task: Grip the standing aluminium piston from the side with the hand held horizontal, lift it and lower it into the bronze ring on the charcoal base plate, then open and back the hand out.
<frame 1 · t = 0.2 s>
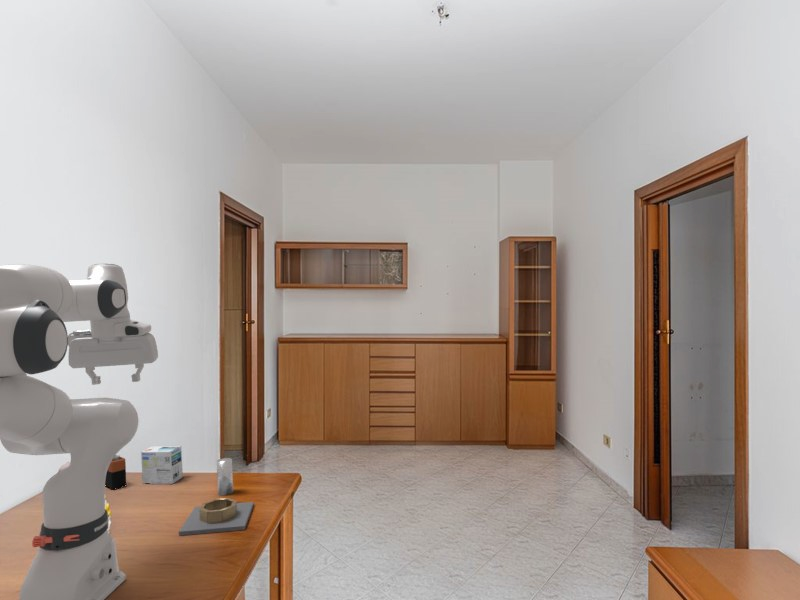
hand: (116, 382, 134), 39 cm above the table, tool pointing down, fingers open, 8 cm apart
battery: (115, 487, 171), on the table
piston: (225, 492, 162), on the table
light bulb box: (162, 481, 175), on the table
bronze ring: (218, 510, 142), on the base plate, point 2 cm above the table
cupcake: (69, 494, 165), on the table
base plate: (218, 519, 142), on the table
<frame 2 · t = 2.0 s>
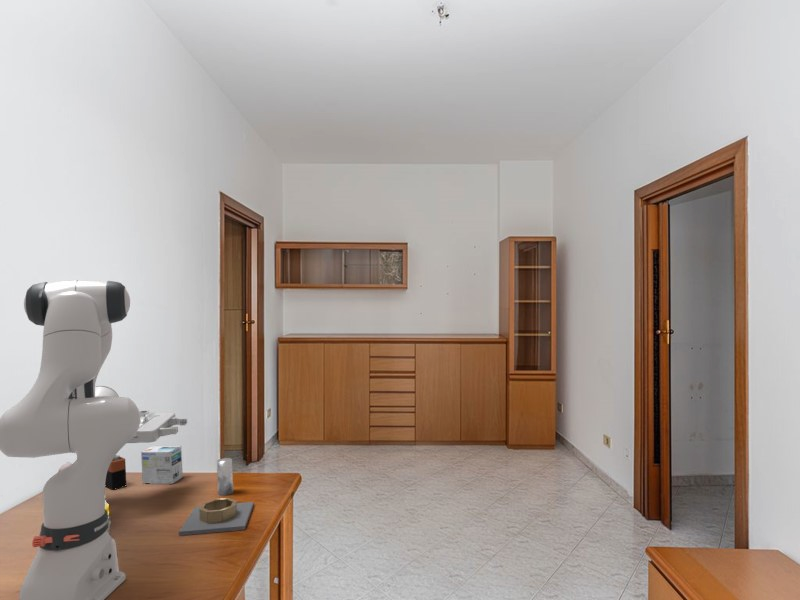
hand: (182, 426, 160), 21 cm above the table, tool horizontal, fingers open, 8 cm apart
nothing on the table moved.
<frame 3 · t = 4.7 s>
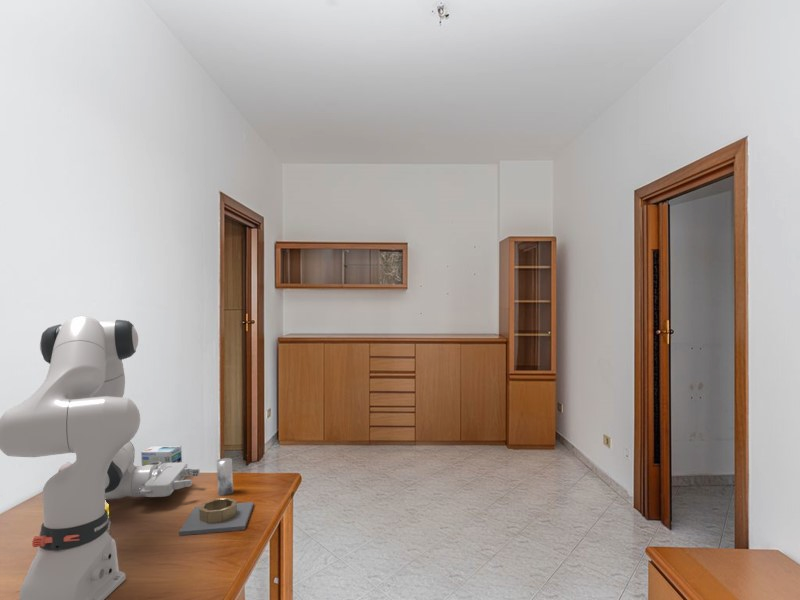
hand: (195, 477, 161), 5 cm above the table, tool horizontal, fingers open, 8 cm apart
nothing on the table moved.
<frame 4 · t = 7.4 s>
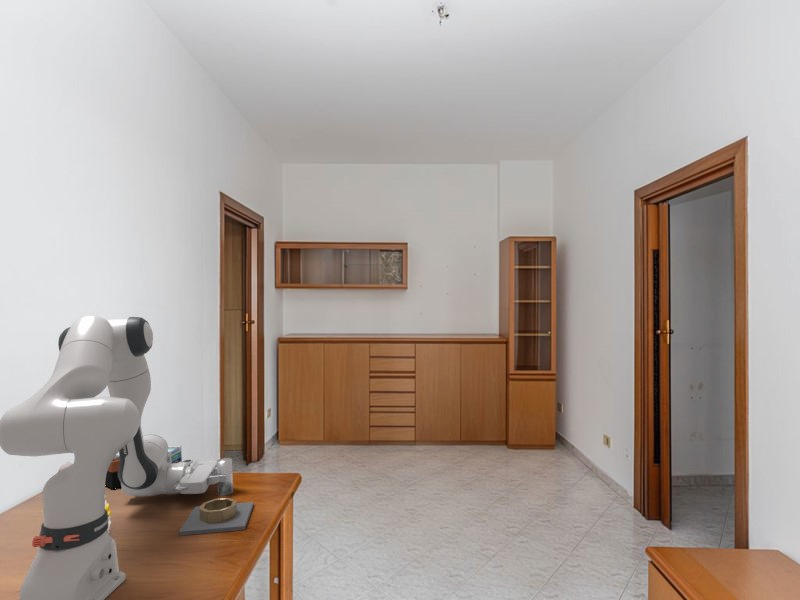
hand: (227, 474, 162), 6 cm above the table, tool horizontal, fingers closed on piston, 4 cm apart
piston: (225, 492, 162), on the table, touching gripper
everything else where it was.
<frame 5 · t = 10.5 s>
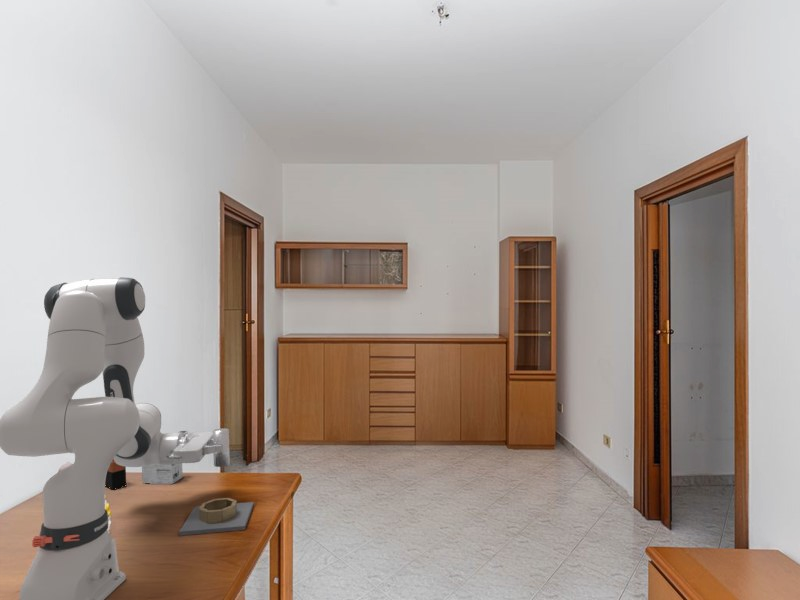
hand: (224, 445, 155), 16 cm above the table, tool horizontal, fingers closed on piston, 4 cm apart
piston: (221, 464, 155), point 11 cm above the table, touching gripper
everything else where it was.
when the fingers open (8 cm above the table, at t = 14.0 s): piston drops 1 cm, resting on base plate.
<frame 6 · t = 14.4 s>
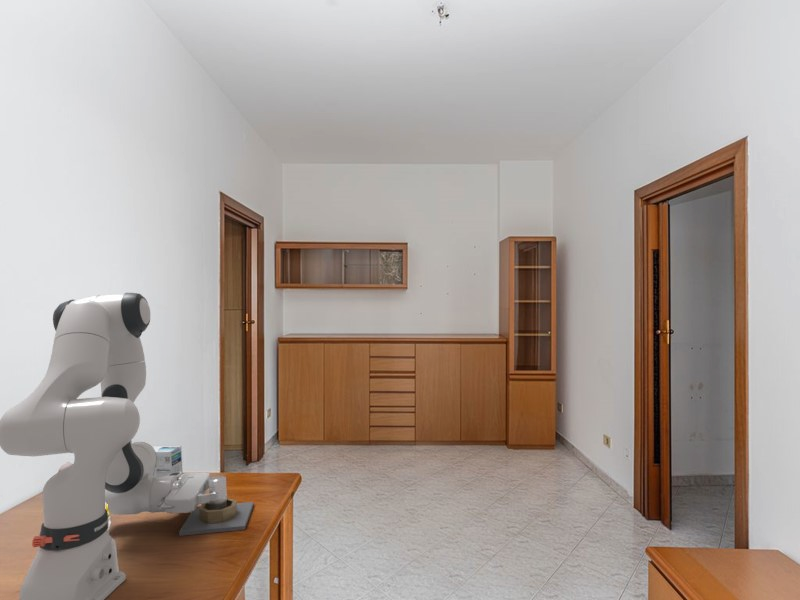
hand: (221, 489, 142), 8 cm above the table, tool horizontal, fingers open, 8 cm apart
piston: (218, 515, 142), point 1 cm above the table, touching base plate
everything else where it was.
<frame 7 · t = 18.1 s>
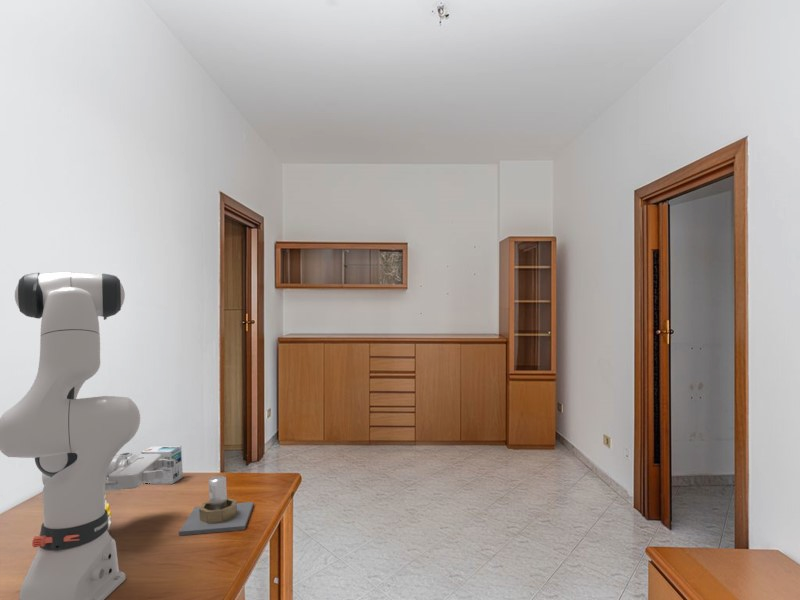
hand: (169, 468, 140), 15 cm above the table, tool horizontal, fingers open, 8 cm apart
nothing on the table moved.
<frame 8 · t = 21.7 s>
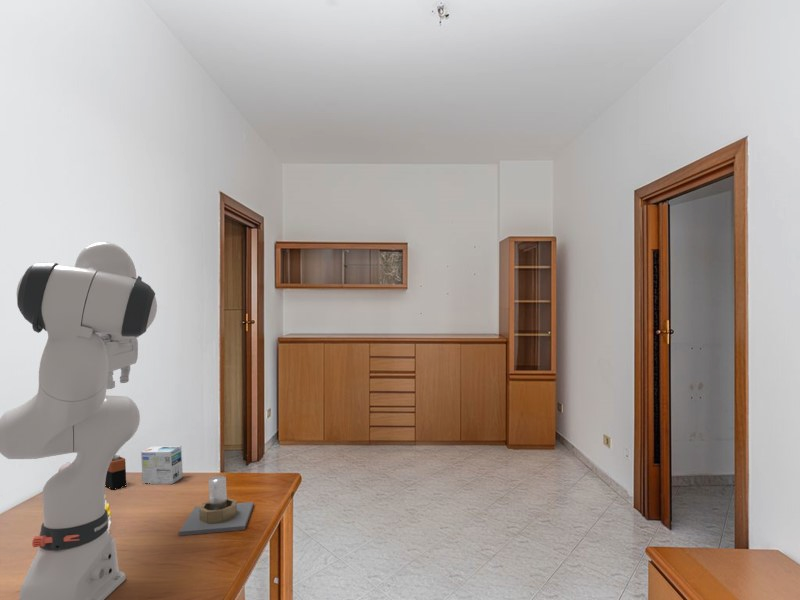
hand: (117, 385, 140), 37 cm above the table, tool pointing down, fingers open, 8 cm apart
nothing on the table moved.
at the end: piston 0.0 cm off-centre on the bronze ring, point 1.0 cm above the bronze ring's base; piston tilted 0°; the gripper is holding nothing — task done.
